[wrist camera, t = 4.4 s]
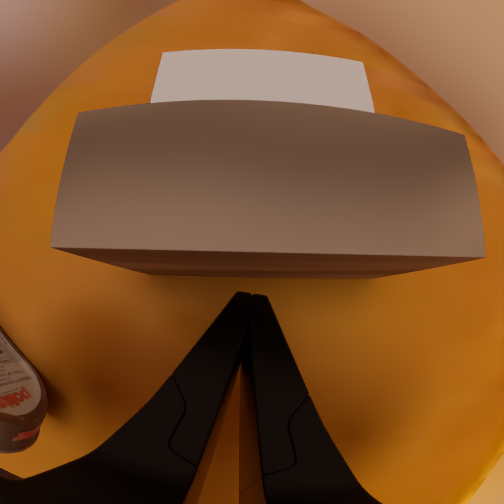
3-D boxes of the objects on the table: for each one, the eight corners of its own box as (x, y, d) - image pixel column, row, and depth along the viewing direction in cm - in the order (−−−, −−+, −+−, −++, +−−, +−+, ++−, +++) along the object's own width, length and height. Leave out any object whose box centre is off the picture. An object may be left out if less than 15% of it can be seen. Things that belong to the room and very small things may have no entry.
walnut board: (371, 278, 16) (485, 257, 7) (148, 274, 15) (50, 246, 6) (368, 208, 16) (464, 134, 7) (154, 201, 16) (78, 113, 7)
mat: (382, 192, 16) (386, 189, 16) (139, 184, 16) (135, 180, 15) (360, 67, 18) (362, 62, 17) (164, 58, 17) (163, 52, 17)
